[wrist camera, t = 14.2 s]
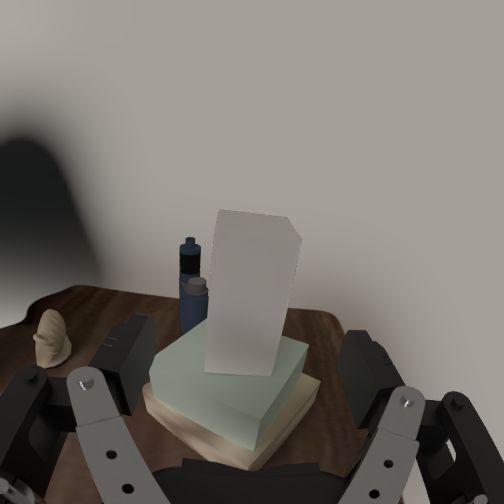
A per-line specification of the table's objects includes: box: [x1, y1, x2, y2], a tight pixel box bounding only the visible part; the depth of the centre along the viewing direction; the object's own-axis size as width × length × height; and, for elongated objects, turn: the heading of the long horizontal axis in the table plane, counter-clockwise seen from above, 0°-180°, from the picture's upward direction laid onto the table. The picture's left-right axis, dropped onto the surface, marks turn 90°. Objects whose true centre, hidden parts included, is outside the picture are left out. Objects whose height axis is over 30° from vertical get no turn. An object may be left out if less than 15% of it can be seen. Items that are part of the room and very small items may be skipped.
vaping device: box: [179, 237, 209, 335], centre depth 32 cm, size 3×5×12 cm, turn 28°
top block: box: [149, 319, 309, 451], centre depth 21 cm, size 9×9×4 cm
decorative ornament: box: [33, 309, 71, 369], centre depth 25 cm, size 4×8×5 cm, turn 21°
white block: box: [204, 210, 302, 376], centre depth 19 cm, size 5×5×10 cm
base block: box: [142, 373, 321, 471], centre depth 23 cm, size 11×11×4 cm
